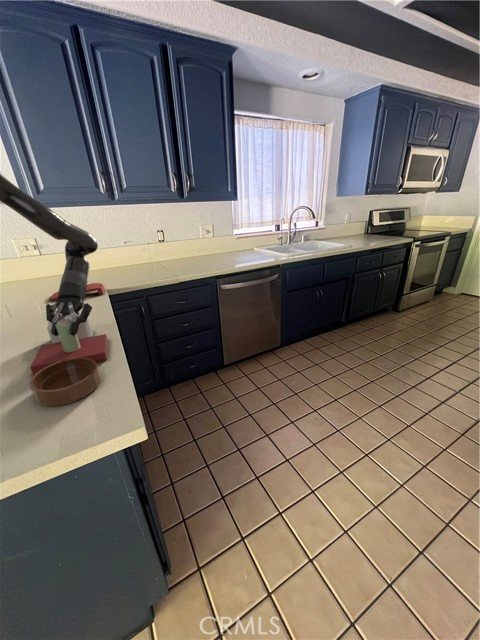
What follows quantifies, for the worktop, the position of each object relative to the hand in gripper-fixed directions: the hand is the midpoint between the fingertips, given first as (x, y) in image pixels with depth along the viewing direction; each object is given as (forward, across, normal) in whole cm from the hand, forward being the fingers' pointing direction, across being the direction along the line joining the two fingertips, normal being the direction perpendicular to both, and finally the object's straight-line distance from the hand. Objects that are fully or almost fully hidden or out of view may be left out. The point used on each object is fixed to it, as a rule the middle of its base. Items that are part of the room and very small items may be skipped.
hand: (63, 334), depth 83 cm
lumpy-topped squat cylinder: (-4, -7, +17) cm, 19 cm away
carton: (-40, -31, +53) cm, 73 cm away
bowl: (+17, +7, -4) cm, 19 cm away
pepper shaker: (+3, 0, +6) cm, 6 cm away
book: (+5, 0, +8) cm, 9 cm away
